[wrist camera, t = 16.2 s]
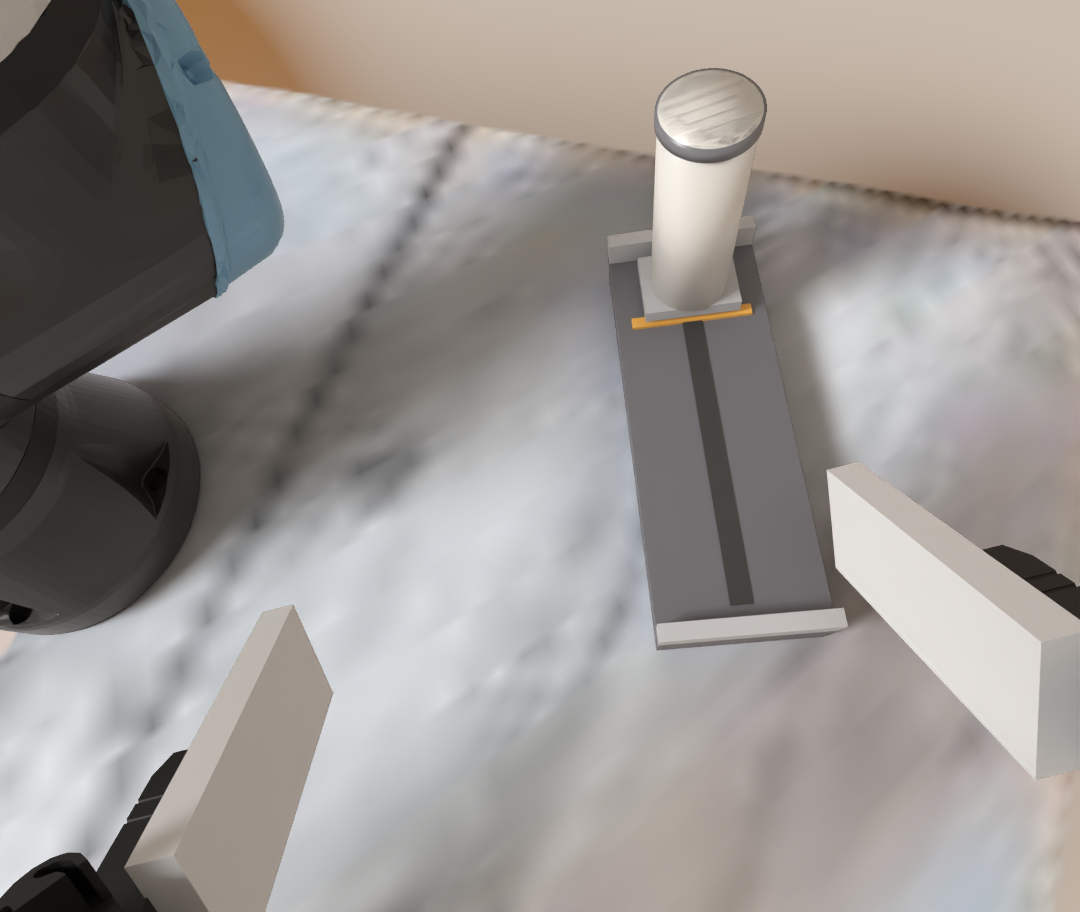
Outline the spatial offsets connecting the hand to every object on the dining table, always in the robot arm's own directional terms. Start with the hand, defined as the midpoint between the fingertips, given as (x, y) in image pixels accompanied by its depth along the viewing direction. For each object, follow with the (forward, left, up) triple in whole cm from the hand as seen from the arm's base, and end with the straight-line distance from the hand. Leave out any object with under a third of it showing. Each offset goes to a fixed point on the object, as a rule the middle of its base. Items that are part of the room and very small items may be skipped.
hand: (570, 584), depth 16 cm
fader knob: (-8, +18, -16) cm, 25 cm away
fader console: (-3, +12, -19) cm, 23 cm away
